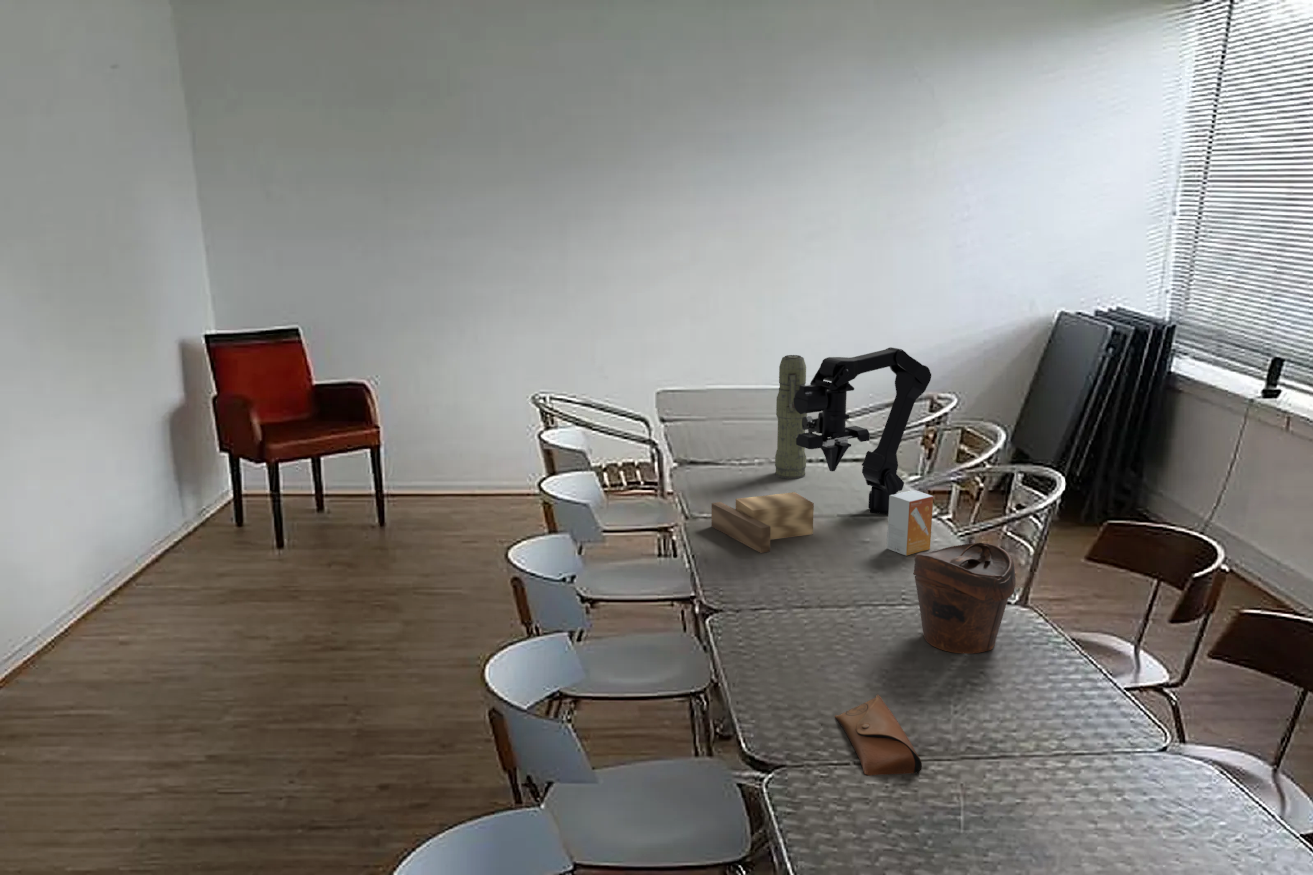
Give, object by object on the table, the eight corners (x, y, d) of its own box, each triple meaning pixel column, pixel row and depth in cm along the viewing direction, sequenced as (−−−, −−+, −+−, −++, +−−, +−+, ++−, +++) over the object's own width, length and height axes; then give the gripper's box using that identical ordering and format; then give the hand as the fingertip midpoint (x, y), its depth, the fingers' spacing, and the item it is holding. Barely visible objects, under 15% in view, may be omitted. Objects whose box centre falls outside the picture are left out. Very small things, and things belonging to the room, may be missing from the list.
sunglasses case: (830, 714, 160) (852, 679, 159) (866, 732, 162) (888, 698, 161) (865, 777, 143) (890, 739, 142) (905, 797, 145) (930, 759, 144)
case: (1008, 621, 194) (1014, 532, 190) (1015, 668, 176) (1021, 571, 171) (912, 613, 199) (915, 526, 195) (909, 658, 180) (912, 563, 176)
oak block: (793, 522, 255) (794, 492, 253) (812, 535, 245) (813, 503, 243) (735, 530, 249) (735, 498, 248) (752, 542, 240) (752, 510, 238)
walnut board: (720, 524, 253) (720, 501, 251) (770, 551, 234) (770, 526, 232) (711, 526, 251) (711, 503, 250) (761, 553, 233) (761, 528, 231)
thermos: (802, 469, 303) (805, 352, 294) (808, 480, 291) (811, 359, 283) (773, 469, 303) (775, 353, 295) (777, 480, 291) (779, 359, 283)
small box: (906, 556, 230) (909, 501, 227) (885, 548, 235) (888, 494, 232) (931, 549, 234) (934, 495, 231) (910, 542, 239) (913, 489, 236)
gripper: (843, 400, 259) (841, 459, 263) (783, 407, 251) (782, 468, 254) (872, 407, 250) (869, 469, 253) (810, 415, 241) (808, 479, 245)
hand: (832, 471), depth 252 cm, fingers closed
